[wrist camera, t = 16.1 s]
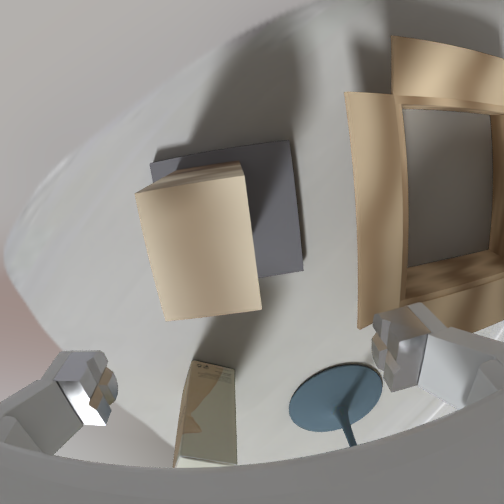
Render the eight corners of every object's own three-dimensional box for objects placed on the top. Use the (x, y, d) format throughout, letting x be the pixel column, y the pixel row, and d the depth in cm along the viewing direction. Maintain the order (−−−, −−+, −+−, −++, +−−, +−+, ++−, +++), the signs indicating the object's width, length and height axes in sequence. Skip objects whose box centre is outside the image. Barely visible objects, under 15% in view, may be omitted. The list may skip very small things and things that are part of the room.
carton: (509, 78, 20) (552, 76, 14) (506, 278, 28) (541, 302, 22) (308, 56, 20) (334, 30, 14) (333, 325, 28) (356, 370, 22)
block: (238, 160, 22) (244, 175, 12) (249, 241, 24) (261, 309, 14) (175, 170, 22) (134, 193, 12) (190, 249, 24) (165, 321, 14)
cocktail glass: (384, 302, 28) (545, 528, 4) (421, 399, 33) (505, 548, 10) (221, 390, 30) (225, 637, 6) (299, 461, 36) (332, 621, 12)
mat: (286, 140, 22) (289, 140, 21) (301, 265, 26) (303, 270, 25) (152, 162, 22) (149, 163, 21) (179, 284, 26) (177, 290, 25)
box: (192, 358, 28) (179, 453, 18) (236, 368, 29) (240, 464, 19) (181, 394, 30) (169, 483, 19) (221, 403, 31) (221, 492, 20)
